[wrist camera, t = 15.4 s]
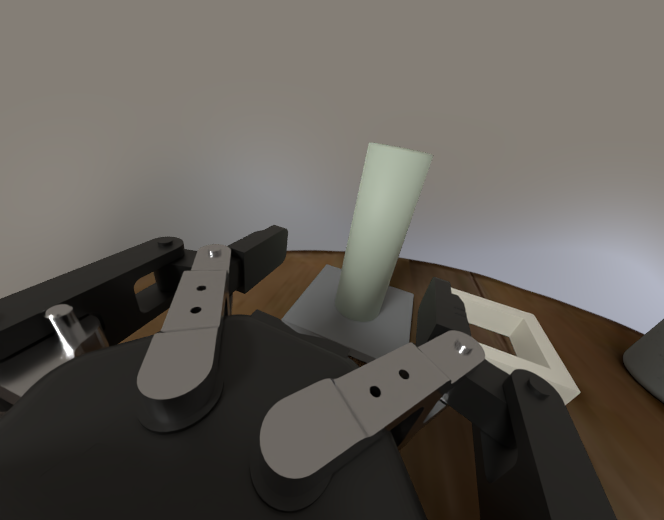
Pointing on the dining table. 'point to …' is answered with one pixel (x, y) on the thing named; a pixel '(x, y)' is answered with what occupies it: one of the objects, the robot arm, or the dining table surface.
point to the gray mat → (360, 337)
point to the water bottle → (648, 361)
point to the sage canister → (379, 227)
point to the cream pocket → (519, 342)
